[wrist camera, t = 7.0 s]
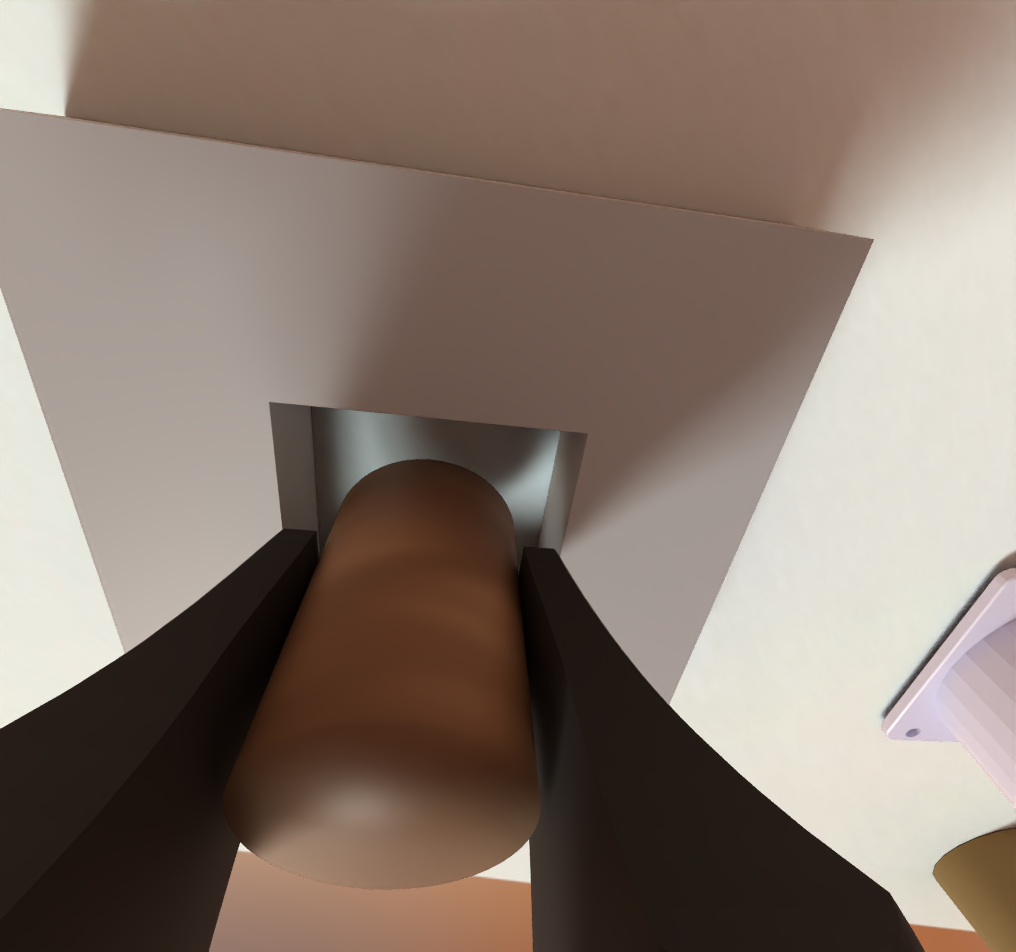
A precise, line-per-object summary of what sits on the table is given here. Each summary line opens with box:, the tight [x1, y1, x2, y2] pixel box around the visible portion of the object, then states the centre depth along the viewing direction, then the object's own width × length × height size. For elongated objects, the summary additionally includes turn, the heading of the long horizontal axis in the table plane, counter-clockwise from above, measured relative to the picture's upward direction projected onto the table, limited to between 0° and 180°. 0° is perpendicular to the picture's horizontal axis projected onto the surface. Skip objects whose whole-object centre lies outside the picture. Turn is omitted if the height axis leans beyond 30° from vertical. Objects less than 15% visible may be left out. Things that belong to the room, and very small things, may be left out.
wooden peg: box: [222, 459, 541, 890], centre depth 9 cm, size 4×4×6 cm
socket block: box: [0, 108, 874, 704], centre depth 12 cm, size 14×14×2 cm
